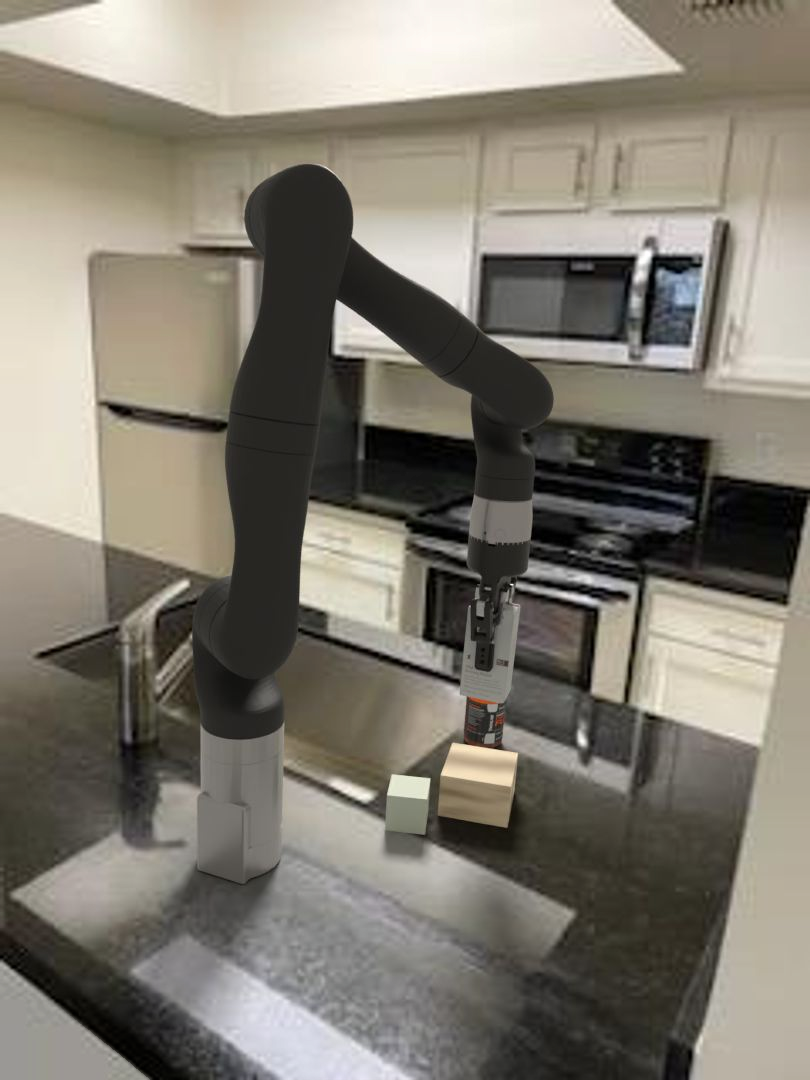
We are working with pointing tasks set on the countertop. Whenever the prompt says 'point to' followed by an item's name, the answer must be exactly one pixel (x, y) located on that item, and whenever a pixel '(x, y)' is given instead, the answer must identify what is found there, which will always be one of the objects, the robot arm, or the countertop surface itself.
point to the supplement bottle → (483, 723)
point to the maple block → (478, 784)
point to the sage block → (407, 804)
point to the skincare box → (500, 677)
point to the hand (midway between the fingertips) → (488, 662)
